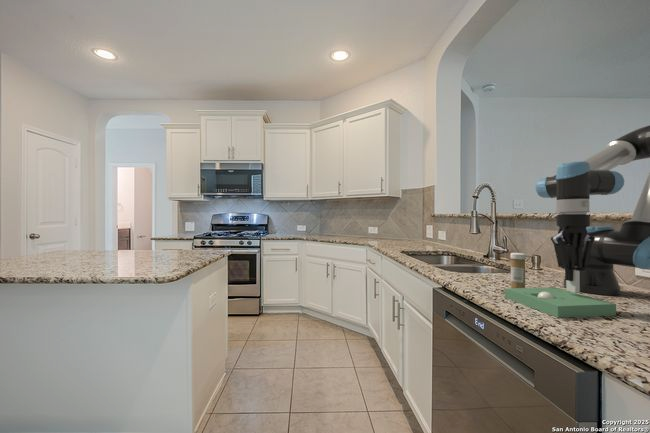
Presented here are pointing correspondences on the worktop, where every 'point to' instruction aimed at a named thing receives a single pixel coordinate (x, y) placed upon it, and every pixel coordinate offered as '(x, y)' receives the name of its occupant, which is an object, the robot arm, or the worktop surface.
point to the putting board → (561, 302)
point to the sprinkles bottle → (517, 270)
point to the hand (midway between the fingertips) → (572, 291)
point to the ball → (545, 295)
